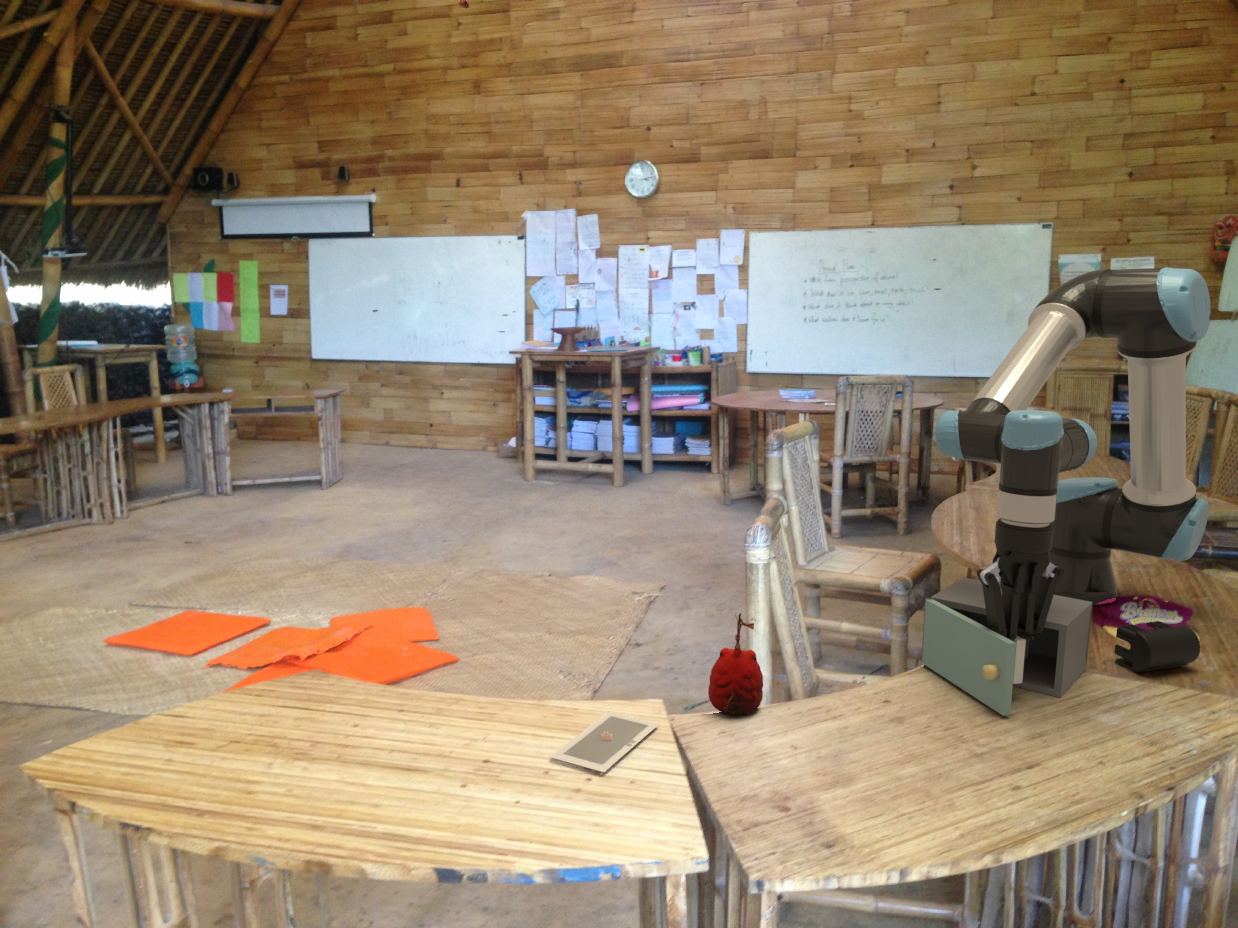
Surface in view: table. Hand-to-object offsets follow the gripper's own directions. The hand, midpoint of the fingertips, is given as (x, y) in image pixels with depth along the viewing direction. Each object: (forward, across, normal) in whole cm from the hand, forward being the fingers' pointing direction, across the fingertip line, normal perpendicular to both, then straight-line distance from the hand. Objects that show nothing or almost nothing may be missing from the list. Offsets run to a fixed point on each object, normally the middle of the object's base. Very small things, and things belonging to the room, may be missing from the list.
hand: (1011, 679), depth 135 cm
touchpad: (+4, +60, -1) cm, 60 cm away
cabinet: (+3, -7, -10) cm, 13 cm away
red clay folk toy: (+3, +40, -6) cm, 41 cm away
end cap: (+3, -30, -4) cm, 30 cm away
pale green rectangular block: (+2, +6, -4) cm, 8 cm away
